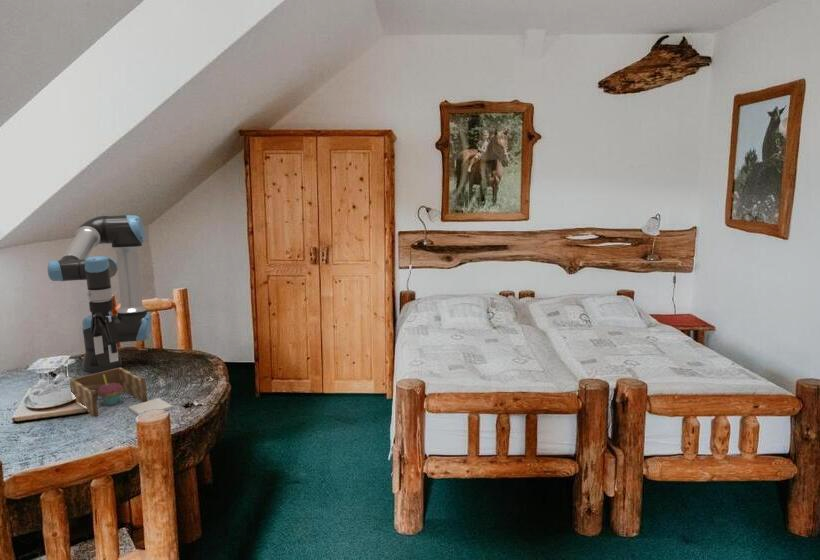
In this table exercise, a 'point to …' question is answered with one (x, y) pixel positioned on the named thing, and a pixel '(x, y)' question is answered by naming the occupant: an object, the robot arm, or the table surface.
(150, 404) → the plate
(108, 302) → the robot arm
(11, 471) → the table surface
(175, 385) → the table surface
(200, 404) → the table surface
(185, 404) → the table surface
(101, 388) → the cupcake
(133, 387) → the brown open-sided frame
